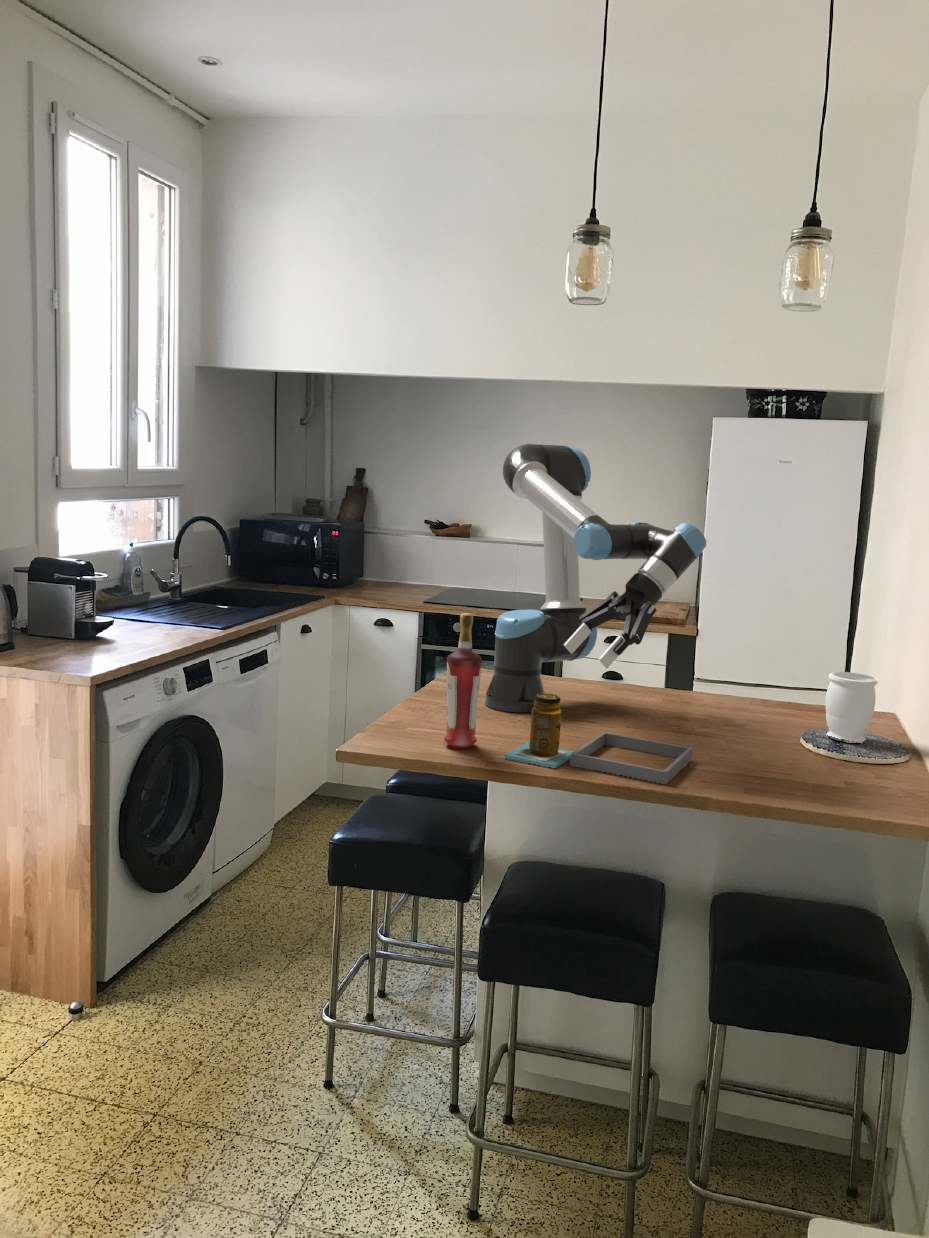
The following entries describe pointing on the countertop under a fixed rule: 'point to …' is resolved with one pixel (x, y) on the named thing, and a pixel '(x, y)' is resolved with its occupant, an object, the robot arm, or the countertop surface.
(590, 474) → the robot arm
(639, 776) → the frame
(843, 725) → the jar
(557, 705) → the condiment
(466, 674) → the liquor
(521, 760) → the coaster
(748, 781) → the countertop surface
